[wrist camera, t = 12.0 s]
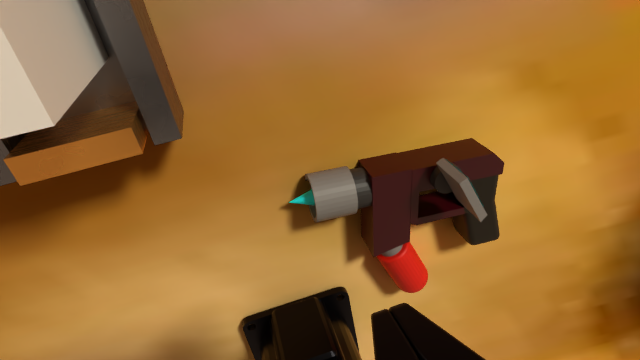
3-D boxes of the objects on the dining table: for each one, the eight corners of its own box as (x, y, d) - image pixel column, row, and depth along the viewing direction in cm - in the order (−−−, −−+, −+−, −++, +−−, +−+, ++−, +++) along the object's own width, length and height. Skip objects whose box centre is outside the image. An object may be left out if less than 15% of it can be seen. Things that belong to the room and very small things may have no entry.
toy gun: (279, 161, 21) (300, 213, 16) (492, 120, 23) (557, 158, 19) (300, 299, 25) (320, 367, 21) (473, 255, 28) (522, 308, 24)
